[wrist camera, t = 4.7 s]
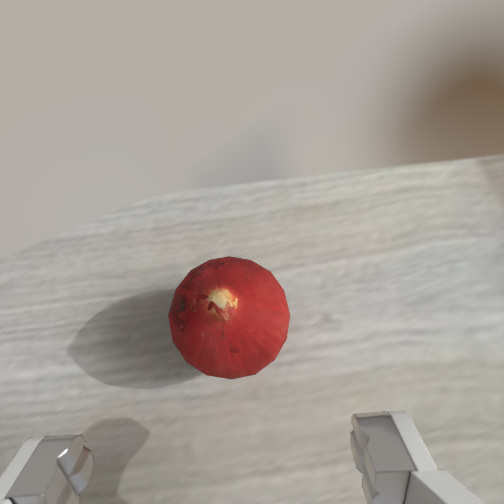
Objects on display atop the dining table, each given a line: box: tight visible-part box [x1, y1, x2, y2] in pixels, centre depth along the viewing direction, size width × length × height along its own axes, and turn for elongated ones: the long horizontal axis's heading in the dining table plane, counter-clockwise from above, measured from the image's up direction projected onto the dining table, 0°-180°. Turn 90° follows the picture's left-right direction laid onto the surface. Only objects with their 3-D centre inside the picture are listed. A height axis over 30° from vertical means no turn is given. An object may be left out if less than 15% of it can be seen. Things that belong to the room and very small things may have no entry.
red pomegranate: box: [168, 256, 290, 379], centre depth 15 cm, size 6×6×8 cm
